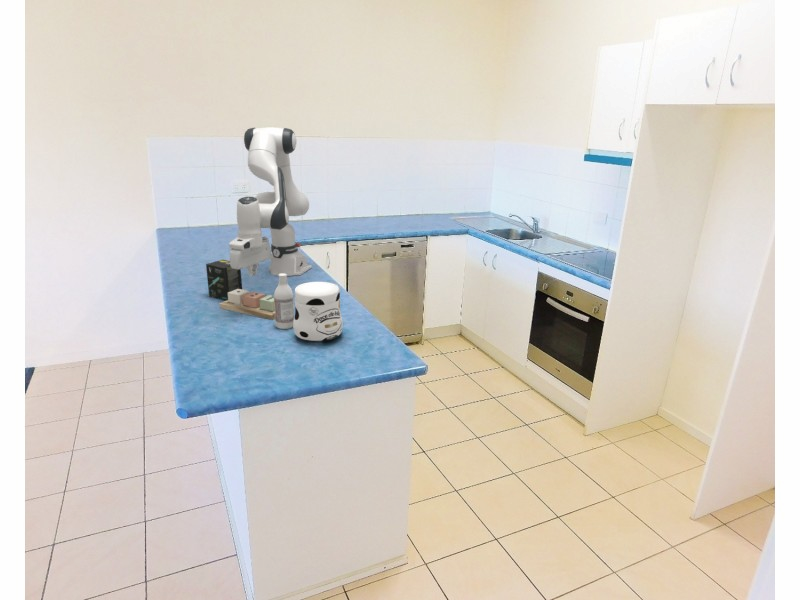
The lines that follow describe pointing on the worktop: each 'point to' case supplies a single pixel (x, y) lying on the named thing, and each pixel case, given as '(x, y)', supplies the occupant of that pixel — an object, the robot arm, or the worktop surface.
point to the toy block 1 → (237, 296)
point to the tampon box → (222, 279)
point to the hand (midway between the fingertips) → (252, 275)
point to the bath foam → (283, 304)
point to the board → (247, 310)
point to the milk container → (317, 312)
